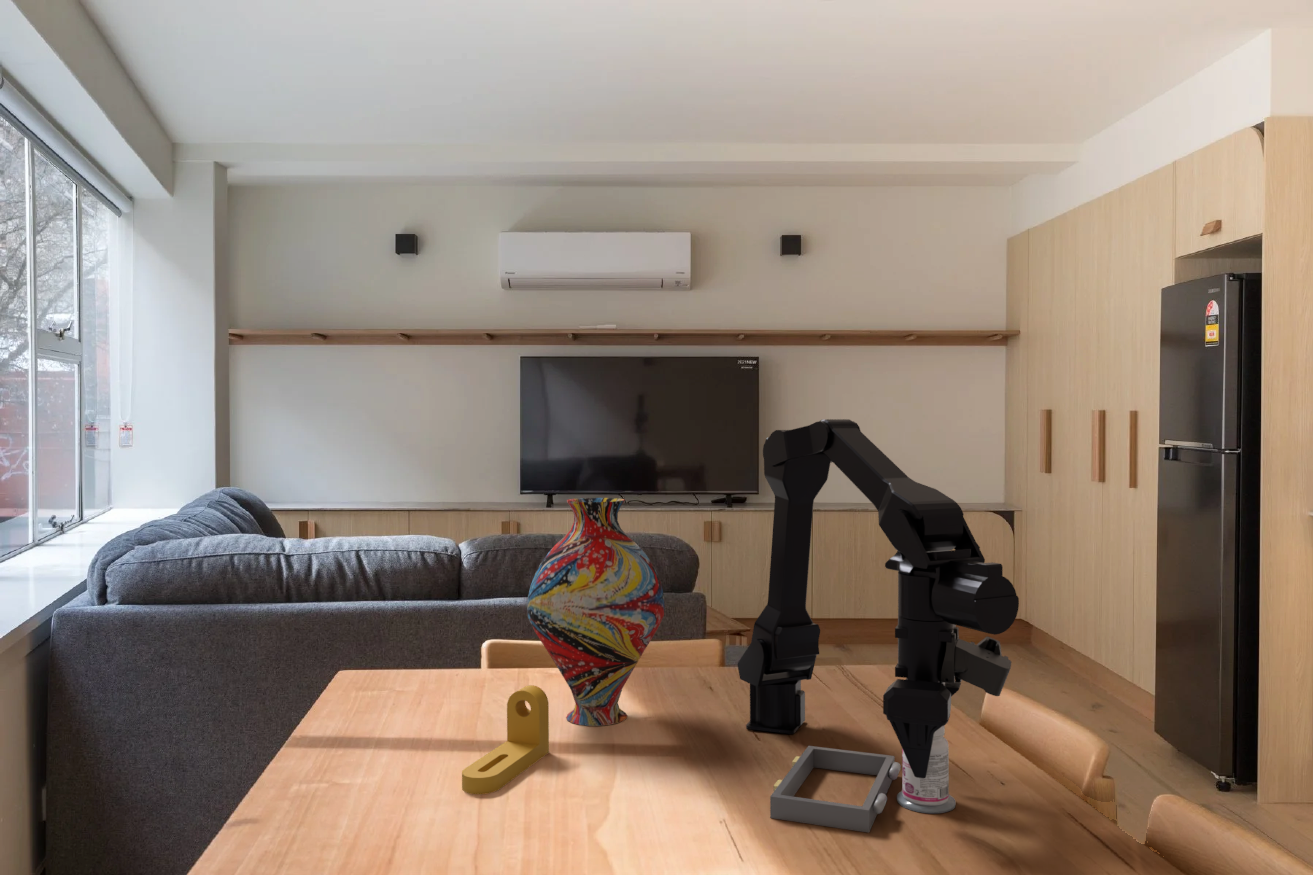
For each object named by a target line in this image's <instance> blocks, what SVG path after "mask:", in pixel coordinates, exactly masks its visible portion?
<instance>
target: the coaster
mask: <svg viewBox="0 0 1313 875" xmlns="http://www.w3.org/2000/svg"><path fill="white" fill-rule="evenodd" d="M896 801H897V804H898V805H900V806H901V807H903V808H905V809H906V810H910V811H912V812H917V813H923V814H943V813H948V812H951V811H953V810H954V809H955V808H956V806H957V805H956V799H955V797H954V796H952V795H951V794H949V798H948V801H947V802H946V803H944V804H942V805H937V806H926V805H918V804H914V803H911V802H909V801H908V800H906V799H905V798H904V796H903V792H902V790H901V791H899V792H898V793H897V794H896Z"/></svg>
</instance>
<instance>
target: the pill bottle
mask: <svg viewBox="0 0 1313 875" xmlns="http://www.w3.org/2000/svg"><path fill="white" fill-rule="evenodd" d="M945 726H946V725H944V726H942V727H941V728H939V729H938V730H937V731H935V733H934V738H933V743H932V749H931V754H930V759H929V765H928V770H927V775H926V778H917V777H915V776H914V774H913V772H912V769H911V767H910V765H909V762H908V760H907V758H906V755H905V753H904V751H903V749H902V748H901V752H902V753H901V758H902V759H901V760H902V763H901V765H902V766H901V768H902V772H901V773H902V776H901V777H902V780H901V781H902V784H901V785H902V788H901V791H902V792H903V796H904V798H905V799H906V800H908V801H909V802H911V803H914V804H918V805H926V806H937V805H942V804H944V803H946V802H947V801H948V798H949V795H950V793H949V792H950V790H949V786H950V783H949V781H950V780H949V774H950V773H949V771H950V770H949V768H950V767H949V766H950V765H949V764H950V763H949V759H950V758H949V748H950V746H949V741H948V739H947V738H945V737H944V736H945V734H946V732H945V729H946V728H945Z"/></svg>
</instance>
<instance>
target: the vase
mask: <svg viewBox="0 0 1313 875" xmlns="http://www.w3.org/2000/svg"><path fill="white" fill-rule="evenodd" d="M566 502H567V504H568V506H569V507H570V509H571V511H572V512H573V523H572V525H571V528H570V529H569V531H567V533H566V534H565V535H564V536H563V537H562V538H561V539H560V540H559V541H558V542H557V543H556V544H554V546H553V547H552V548H551V549H550V550H549V551H548V553H547V554H546V555H545V557H544V558H543V559H542V561H541V562H540V564H539V566H538V567H537V569H536V571H535V573H534V575H533V577H532V581H531V584H530V587H529V591H528V595H527V618H528V621H529V623H530V625H531V626H532V628H533V631H534V633H535V634H536V636H537V638H538V639H539V640H540V642H541V643H542V645H543V647H544V648H545V650H546V652H547V653H548V654H549V656H550V657H551V659H552V661H553V662H554V664H555V666H556V667H557V669H558V670H559V672H560V674H561V676H562V678H563V679H564V681H565V682H566V684H567V685H568V688H569V689H570V691H571V694H572V696H573V699H574V702H575V703H574V704H575V705H574V708H573V710H571V711H570V712H569V713H568V714H567V715H566V717H565V718H566V720H567V721H568V722H570V723H571V724H576V725H581V726H590V727H591V726H592V727H596V726H597V727H599V726H600V727H602V726H609V725H615V724H618V723H621V722H622V723H623V721H625V720H626V719H627V718H628V714H627V713H626V712H625V711H624V710H622V709H621V708H620V706H619V702H620V701H619V700H620V698H621V695H622V691H623V690H624V687H625V685H626V683H627V681H628V679H630V676H631V674H632V673H633V671H634V669H635V668H636V666H637V664H638V662H639V661H640V659H641V658H642V655H643V654H644V653H645V651H646V649H647V647H648V646H649V644H650V643H651V640H652V639H653V637H654V636H655V634H656V633H657V631H658V629H659V627H660V626H661V623H662V620H663V619H664V616H665V607H666V606H665V595H664V591H663V585H662V582H661V579H660V577H659V574H658V573H657V571H656V570H657V569H656V568H655V566H654V565H653V563H652V562H651V560H650V558H649V557H648V556H647V554H646V552H645V551H644V550H643V549H642V548H641V547H640V546H639V544H637V543H636V542H635V541H634V540H633V539H631V537H629V536H628V534H627V533H626V532H625V531H623V529H622V528H621V526H620V523H619V521H618V518H619V516H618V514H619V511H620V509H621V507H622V506H623V505H624V503H625V499H624V498H618V497H617V498H616V497H584V498H583V497H582V498H581V497H579V498H571V499H566Z"/></svg>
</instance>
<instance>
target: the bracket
mask: <svg viewBox="0 0 1313 875" xmlns="http://www.w3.org/2000/svg"><path fill="white" fill-rule="evenodd" d="M526 702H527V703H528V705H529V707H530V709H529V708H528V707H527V705H526ZM549 707H550V706H549V699H548V696H547V693H546V692H545V691H544V690H543V689H542V688H540V687H539V686H537V685H531V684H530V685H529V684H528V685H526V686H524V687H523V688H520V689H518V690H516V691H515V692H513V693H511V695H510V696H509V698H508V700H507V704H506V713H507V714H506V726H507V727H506V732H507V734H506V739H507V740H506V741H504V743H501V744H500V745H499V746H497V747H496V748H494V749H492V750H491V751H489V752H488V753H486V754H484V756H482V757H480V758H479V759H477V760H476V761H474V762H473V763H471V764H470V765H468V766H467V767H465V768H463V770H462V771H461V789H462V791H463V792H464V793H466V794H471V795H486V794H492V793H495V792H497V791H499V790H501V789H502V788H503V787H505V786H506V785H508V784H509V783H510V782H511V781H513V780H514V779H516V778H517V777H518V776H519V775H520V774H522V773H523V772H525V771H526V770H528V769H529V768H530V767H532V766H533V765H534V764H536V763H537V762H539V760H541V759H542V758H544V756H546V755H548V754H550V746H549V745H550V740H549V739H550V737H549V736H550V733H549V732H550V729H549V727H550V726H549V725H550V720H549V718H550V717H549V716H550V713H549Z"/></svg>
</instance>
